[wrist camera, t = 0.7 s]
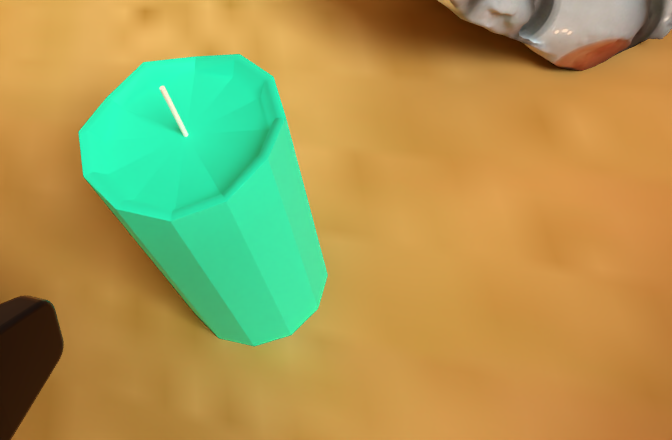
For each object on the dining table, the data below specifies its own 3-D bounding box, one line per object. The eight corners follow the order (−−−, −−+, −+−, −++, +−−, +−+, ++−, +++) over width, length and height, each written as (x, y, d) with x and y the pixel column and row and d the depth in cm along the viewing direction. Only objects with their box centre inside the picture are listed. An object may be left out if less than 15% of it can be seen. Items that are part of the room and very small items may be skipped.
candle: (353, 250, 27) (318, 44, 16) (280, 372, 24) (185, 221, 14) (239, 199, 28) (144, -15, 18) (162, 307, 26) (1, 132, 16)
